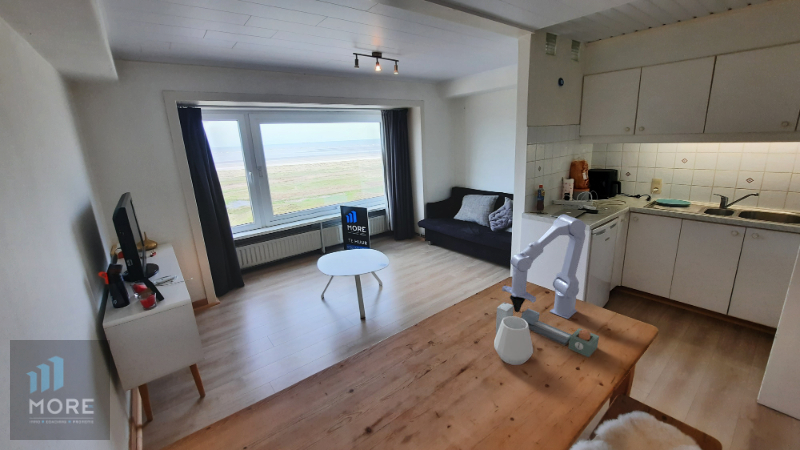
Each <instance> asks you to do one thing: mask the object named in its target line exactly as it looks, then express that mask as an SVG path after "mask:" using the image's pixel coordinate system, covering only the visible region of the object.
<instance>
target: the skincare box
mask: <svg viewBox="0 0 800 450" xmlns="http://www.w3.org/2000/svg"><path fill="white" fill-rule="evenodd" d="M508 316H514V306H513V304H511V303H508V302H505V301H504V302H502V303H501V304H500V305H498V306H497V307H496V320H495V323H496V324H495V335H497V332H498V330H499V327H500V324H501V322H502V320H503V318H505V317H508Z"/></svg>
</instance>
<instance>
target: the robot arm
mask: <svg viewBox="0 0 800 450" xmlns="http://www.w3.org/2000/svg"><path fill="white" fill-rule="evenodd" d="M586 227H587V225H586V223H585V222H584V221H583V220H582V219H580V218H575V217H573V216H569V215H567V214H566V213H565V214H564V213H563V214H560V215H559V216H558V217H557V218H556V219H554V220H553V222H552V226H551V227H550V228H549V229H547V231H546V232H545V233H544V234H543V235H541V237H540V238H539V239H538V240H536V241H532V242H529V243H528V245H527V246H526V247H525V248H524V249H523V250H522V251H520V253H516V254H515V255H513V256H512V258H511V259H510V260H509V261H510V264H511V265H512V277H511V278H512V280H511V286H507V285H504V286H502V288H501V291H503V292H506V293H509V294H511V295H510V296H509V299H510V301H511V303H512V305H513V312H515V313H519V312H520V311H521V309H522V306H523V304H524V302H525V300H527V301H530V302H531V303H532V304H534V303H535V302H537V297H536V296H534V295H532V294H531V293H529V292H528V291H527V282H528V272H529V270H530V269H531V267H532V265H533V263H534V261H535V260H536V259H537V258H538V257H540V255H542V253H544V248H545V247H546V246H547V245H550V244H551V242H553V241H554V240H555V239H557V238H558V237H559V236H568V238H569V240H568V244H567V248H566V251H565V256H564V260H563V264H562V269H561V271H560V272H558V273H556V275H555V278H554V279H553V281H552V286H553V288H554V292H555V294H554V302H553V303H554V305H553V308H551V309H550V310H549V312H550V313H551V314H555V315H556V316H559V317H562V318H564V319H567V320H568V319H570V318H571V317H572V316H574V314H575V313H577V312H578V310H577V309H576V302H577V295H578V294H579V291H580V288H579V284H580V281H579V280H578V278H577V276H576V274H577V271H578V267H579V263H580V259H581V255H582V252H583V247H584V243H585V241H586V232H585V231H586Z"/></svg>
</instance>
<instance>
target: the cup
mask: <svg viewBox="0 0 800 450" xmlns="http://www.w3.org/2000/svg"><path fill="white" fill-rule="evenodd" d="M493 344H494V345H493V347H494V349H495V351H496V353H497V355H498V356H499V358H500V359H501V360H502V361H503V362H505V363H506V364H508V365H513V366H517V365H518V366H520V365H523V364H524V363H526V362H527V361H528V360H529V359H530V358H531V356H532V355H533V353H534V348H533V347H534V346H533V342H532V337H531V330H529V326H528V323H527V322H526V321H525V320H524V319H522V318H521V317H519V316H514V315H513V316H508V317H505V318H503V320H502V322H501V324H500V327H499V330H498V332H497V334H495V338H494V341H493Z"/></svg>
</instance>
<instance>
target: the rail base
mask: <svg viewBox="0 0 800 450" xmlns="http://www.w3.org/2000/svg"><path fill="white" fill-rule="evenodd" d="M520 318H522V315H521V316H520ZM528 326H529V331H530V332H531V331H532V332H534V333H536V334H539V335H541V336H543V337H544V338H546V339H549V340H551V341H553V342H556V343H557V344H560V345H563V346H564V347H565V346H566V345H567V344H569V340H570V336H571V335H572V334H571V333H569V332H566V331H564V330H561V329H560V328H557V327H555V326H552V325H550V324H547V323H545V322H542V321H540V320H538V322H537V321H536V322H535V323H534V325H531V324H529V323H528Z"/></svg>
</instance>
